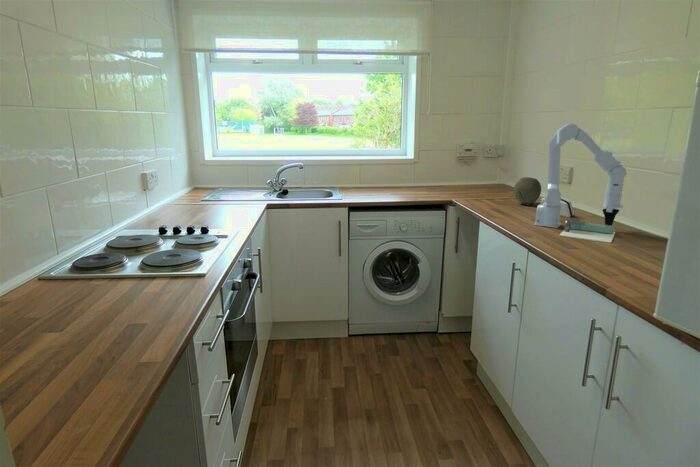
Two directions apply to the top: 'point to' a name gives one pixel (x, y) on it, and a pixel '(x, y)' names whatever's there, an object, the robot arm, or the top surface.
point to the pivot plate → (588, 234)
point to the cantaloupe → (527, 190)
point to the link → (594, 227)
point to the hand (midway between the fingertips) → (608, 226)
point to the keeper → (567, 223)
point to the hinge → (563, 207)
